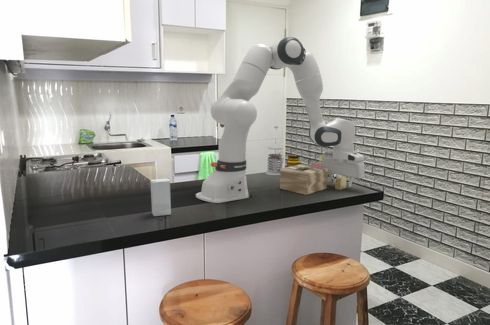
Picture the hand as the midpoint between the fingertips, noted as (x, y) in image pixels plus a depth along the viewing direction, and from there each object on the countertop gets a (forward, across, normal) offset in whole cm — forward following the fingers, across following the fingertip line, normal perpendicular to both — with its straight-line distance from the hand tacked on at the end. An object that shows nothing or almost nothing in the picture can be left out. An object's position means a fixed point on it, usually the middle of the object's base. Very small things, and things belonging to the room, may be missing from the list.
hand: (340, 184), depth 166 cm
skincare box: (+2, -23, -79) cm, 82 cm away
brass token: (+2, 0, 0) cm, 2 cm away
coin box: (+2, -11, -13) cm, 17 cm away
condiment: (+2, -26, -2) cm, 26 cm away
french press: (+2, -39, +1) cm, 39 cm away
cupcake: (+2, -20, +11) cm, 23 cm away
